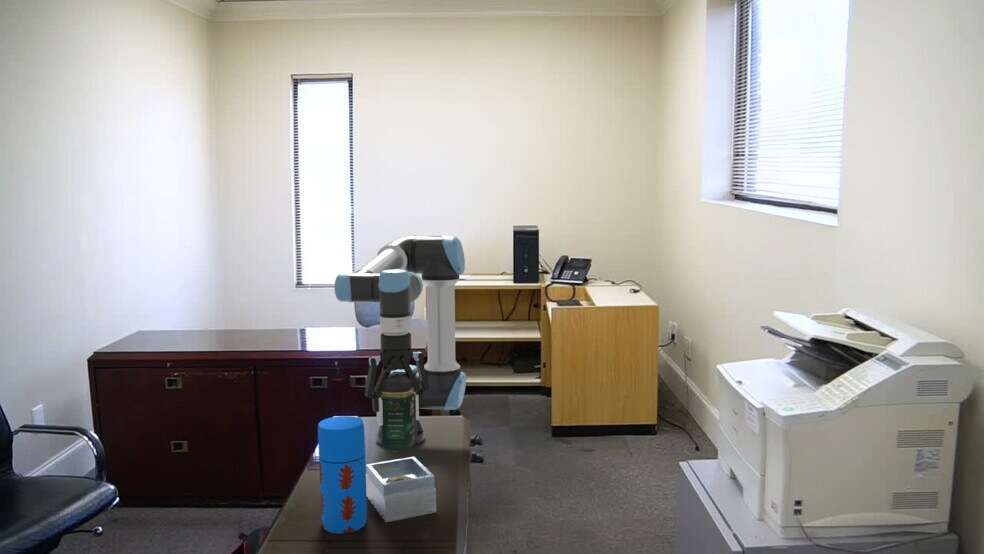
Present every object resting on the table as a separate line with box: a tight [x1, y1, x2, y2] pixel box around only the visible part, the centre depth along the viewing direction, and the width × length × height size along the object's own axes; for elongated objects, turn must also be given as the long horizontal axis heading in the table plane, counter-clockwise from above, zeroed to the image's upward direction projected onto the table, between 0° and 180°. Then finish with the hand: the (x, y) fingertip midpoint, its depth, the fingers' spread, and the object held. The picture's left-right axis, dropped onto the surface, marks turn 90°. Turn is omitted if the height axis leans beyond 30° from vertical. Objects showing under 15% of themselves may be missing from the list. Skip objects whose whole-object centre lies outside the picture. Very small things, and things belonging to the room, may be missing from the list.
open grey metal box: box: [366, 456, 437, 523], centre depth 193 cm, size 13×17×9 cm
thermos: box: [317, 415, 368, 534], centre depth 182 cm, size 11×11×25 cm
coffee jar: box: [380, 372, 415, 452], centre depth 191 cm, size 10×8×19 cm
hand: (398, 421), depth 191 cm, fingers closed on coffee jar, 9 cm apart
